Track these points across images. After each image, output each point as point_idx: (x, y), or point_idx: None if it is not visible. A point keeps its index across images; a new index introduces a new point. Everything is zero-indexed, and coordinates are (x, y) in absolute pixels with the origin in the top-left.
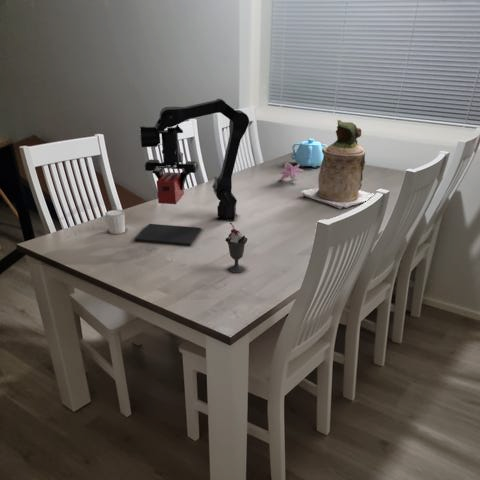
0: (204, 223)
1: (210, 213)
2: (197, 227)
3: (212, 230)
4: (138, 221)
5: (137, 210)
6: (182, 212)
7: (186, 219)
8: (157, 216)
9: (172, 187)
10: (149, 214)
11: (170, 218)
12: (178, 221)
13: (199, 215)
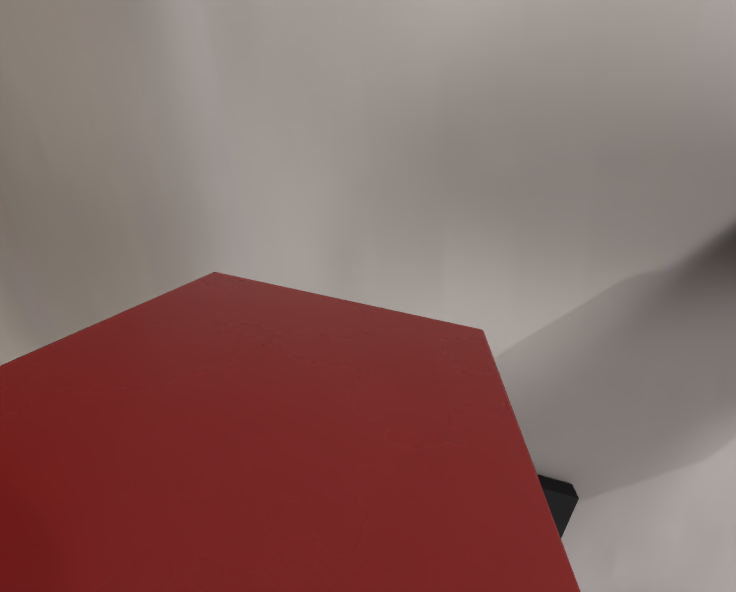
0: (616, 357)
1: (720, 90)
2: (552, 493)
3: (661, 494)
4: (105, 290)
5: (10, 18)
6: (422, 65)
7: (463, 260)
8: (214, 181)
9: None
10: (139, 129)
11: (327, 232)
12: (398, 303)
13: (591, 155)
